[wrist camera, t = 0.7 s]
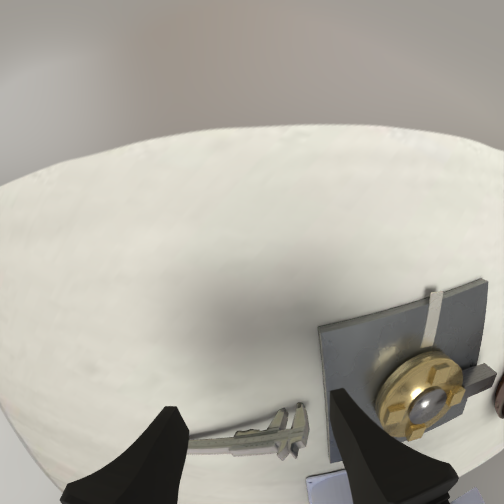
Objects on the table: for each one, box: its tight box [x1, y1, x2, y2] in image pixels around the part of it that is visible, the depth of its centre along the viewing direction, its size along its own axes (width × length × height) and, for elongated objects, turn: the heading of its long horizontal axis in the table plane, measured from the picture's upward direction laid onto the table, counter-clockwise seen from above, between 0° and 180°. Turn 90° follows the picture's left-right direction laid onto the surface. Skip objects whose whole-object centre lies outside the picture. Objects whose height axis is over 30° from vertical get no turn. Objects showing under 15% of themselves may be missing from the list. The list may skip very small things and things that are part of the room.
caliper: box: [186, 403, 310, 461], centre depth 20 cm, size 21×1×6 cm, turn 117°
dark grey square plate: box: [318, 279, 488, 463], centre depth 21 cm, size 19×19×1 cm
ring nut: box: [375, 351, 497, 442], centre depth 18 cm, size 14×9×3 cm, turn 91°
